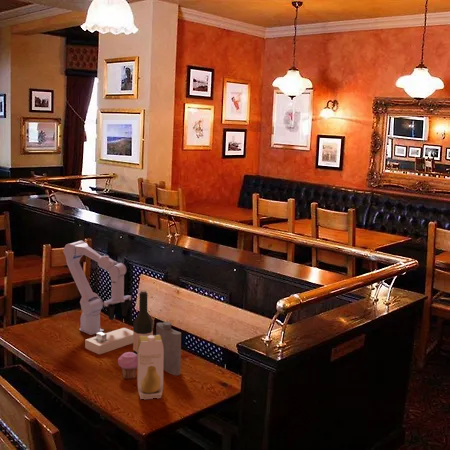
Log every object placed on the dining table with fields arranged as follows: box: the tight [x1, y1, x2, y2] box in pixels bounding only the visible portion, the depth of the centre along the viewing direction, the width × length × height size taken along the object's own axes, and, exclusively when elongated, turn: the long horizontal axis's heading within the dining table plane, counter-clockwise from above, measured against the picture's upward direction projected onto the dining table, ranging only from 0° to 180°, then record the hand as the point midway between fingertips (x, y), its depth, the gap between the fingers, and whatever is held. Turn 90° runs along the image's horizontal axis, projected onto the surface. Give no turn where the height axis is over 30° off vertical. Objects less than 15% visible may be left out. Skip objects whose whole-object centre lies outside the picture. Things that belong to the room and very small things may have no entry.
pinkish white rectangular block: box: [95, 331, 107, 343], centre depth 267 cm, size 4×2×7 cm, turn 48°
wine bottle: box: [132, 290, 154, 354], centre depth 256 cm, size 8×8×30 cm
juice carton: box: [136, 334, 164, 400], centre depth 223 cm, size 9×8×24 cm
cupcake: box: [117, 351, 137, 380], centre depth 240 cm, size 9×9×10 cm
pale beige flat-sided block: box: [84, 327, 133, 355], centre depth 272 cm, size 10×22×4 cm, turn 139°
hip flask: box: [155, 321, 182, 376], centre depth 248 cm, size 16×4×20 cm, turn 39°
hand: (117, 317), depth 281 cm, fingers open, 7 cm apart
